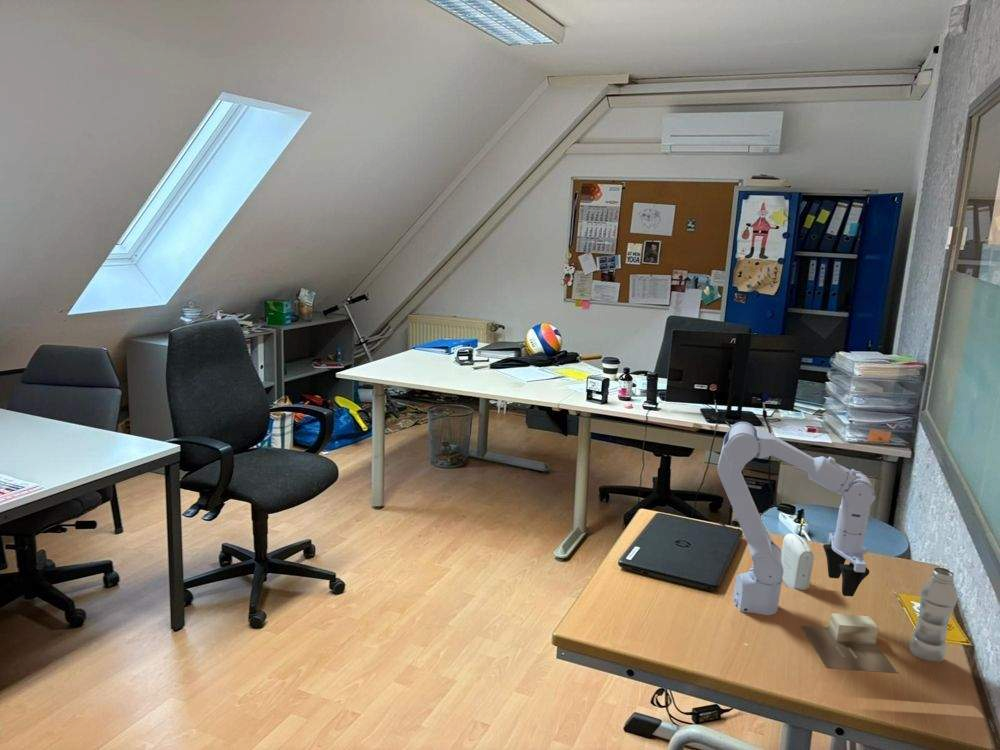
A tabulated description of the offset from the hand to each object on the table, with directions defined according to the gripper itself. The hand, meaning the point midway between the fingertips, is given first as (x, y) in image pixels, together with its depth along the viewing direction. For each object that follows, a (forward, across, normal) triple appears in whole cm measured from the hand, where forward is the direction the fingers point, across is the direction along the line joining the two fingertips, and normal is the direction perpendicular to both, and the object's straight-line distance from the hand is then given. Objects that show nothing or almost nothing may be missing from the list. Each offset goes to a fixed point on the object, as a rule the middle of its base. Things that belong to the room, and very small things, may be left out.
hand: (840, 586), depth 163 cm
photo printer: (+10, +18, +3) cm, 21 cm away
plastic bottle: (+10, -10, -15) cm, 21 cm away
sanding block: (+8, -6, -1) cm, 11 cm away
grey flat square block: (+10, -10, +2) cm, 15 cm away
